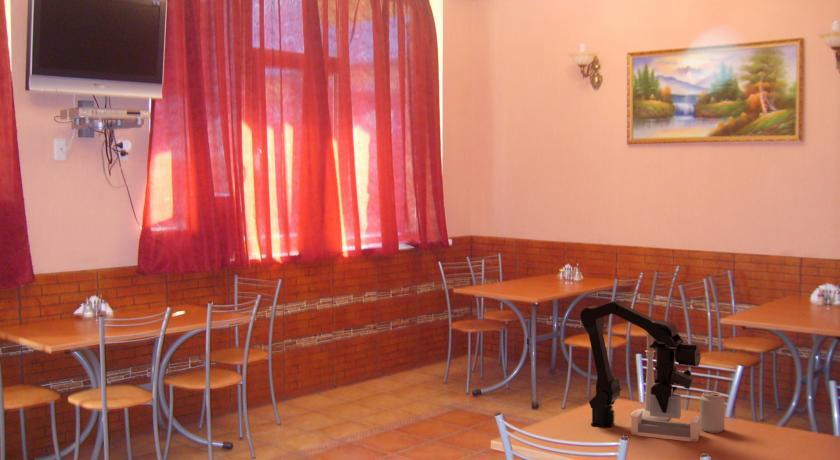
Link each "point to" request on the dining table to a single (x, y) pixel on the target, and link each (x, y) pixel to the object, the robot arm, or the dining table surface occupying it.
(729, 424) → the dining table surface
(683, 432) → the track
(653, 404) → the grey rectangular block
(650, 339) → the candlestick
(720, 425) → the can
